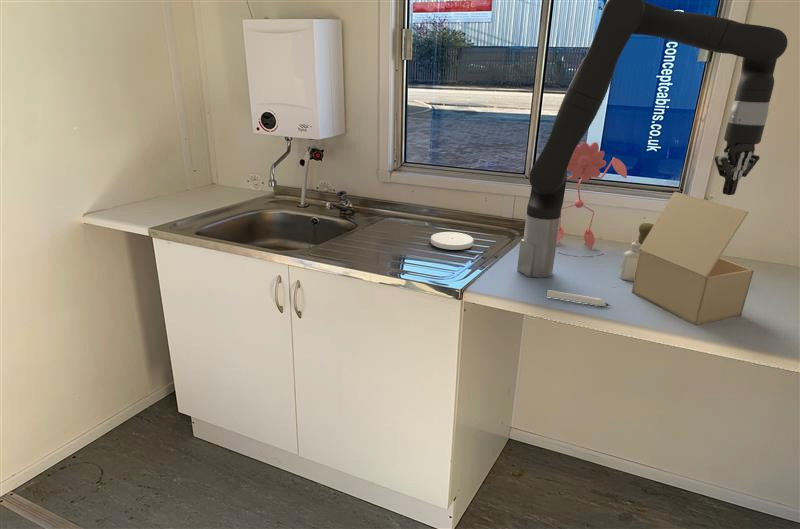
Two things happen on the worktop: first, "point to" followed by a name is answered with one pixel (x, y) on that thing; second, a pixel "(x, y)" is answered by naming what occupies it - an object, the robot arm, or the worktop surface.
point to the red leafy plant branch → (588, 177)
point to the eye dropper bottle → (630, 262)
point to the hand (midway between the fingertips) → (728, 194)
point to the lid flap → (693, 232)
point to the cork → (644, 231)
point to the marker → (576, 298)
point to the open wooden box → (693, 288)
